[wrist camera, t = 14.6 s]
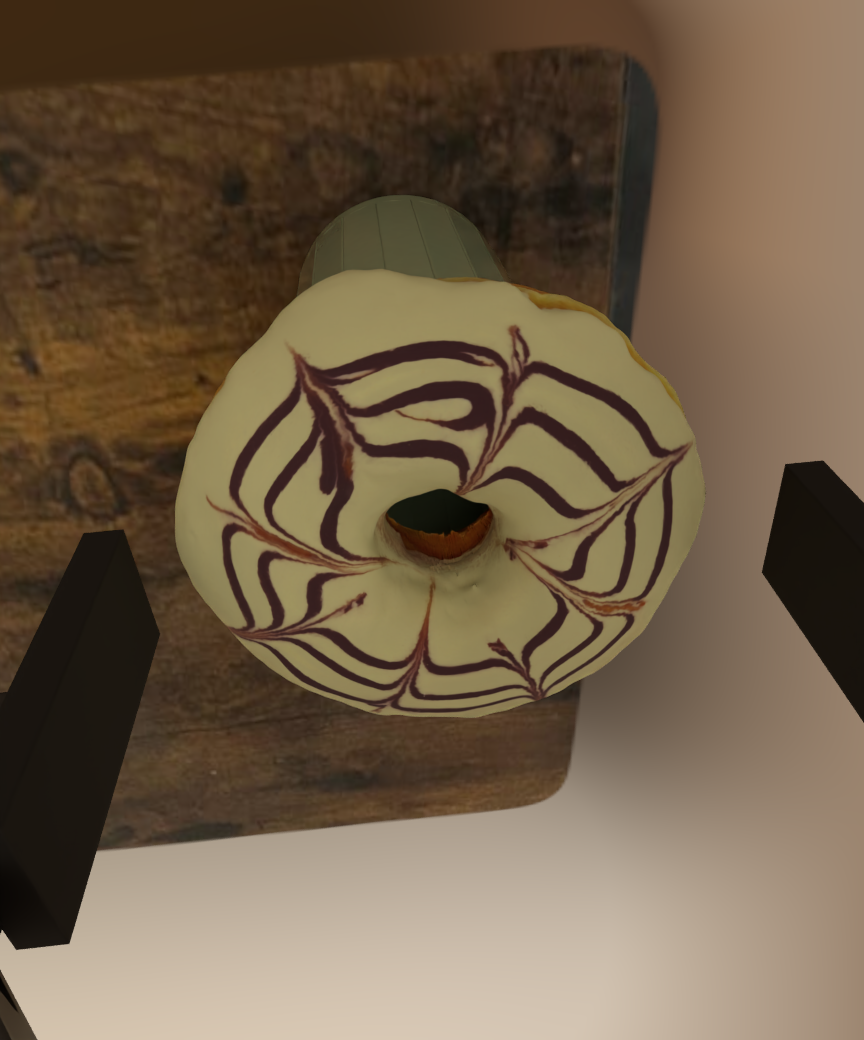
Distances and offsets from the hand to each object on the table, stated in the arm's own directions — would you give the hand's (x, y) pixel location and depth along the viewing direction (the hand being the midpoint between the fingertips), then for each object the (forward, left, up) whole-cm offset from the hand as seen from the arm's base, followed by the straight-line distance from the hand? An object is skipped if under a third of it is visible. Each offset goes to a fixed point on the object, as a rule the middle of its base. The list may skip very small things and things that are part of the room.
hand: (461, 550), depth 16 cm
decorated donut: (0, 0, -3) cm, 3 cm away
